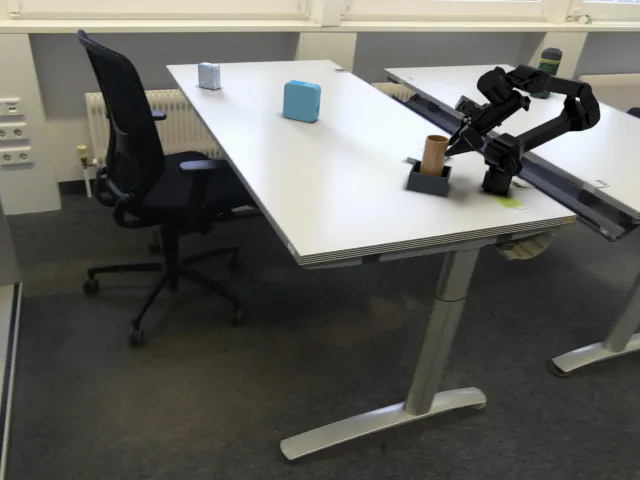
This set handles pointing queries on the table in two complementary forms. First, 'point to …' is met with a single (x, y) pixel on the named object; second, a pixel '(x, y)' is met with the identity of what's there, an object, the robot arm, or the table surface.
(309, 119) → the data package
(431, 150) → the cup
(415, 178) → the bin
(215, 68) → the medicine box
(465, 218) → the table surface
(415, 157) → the hard drive
